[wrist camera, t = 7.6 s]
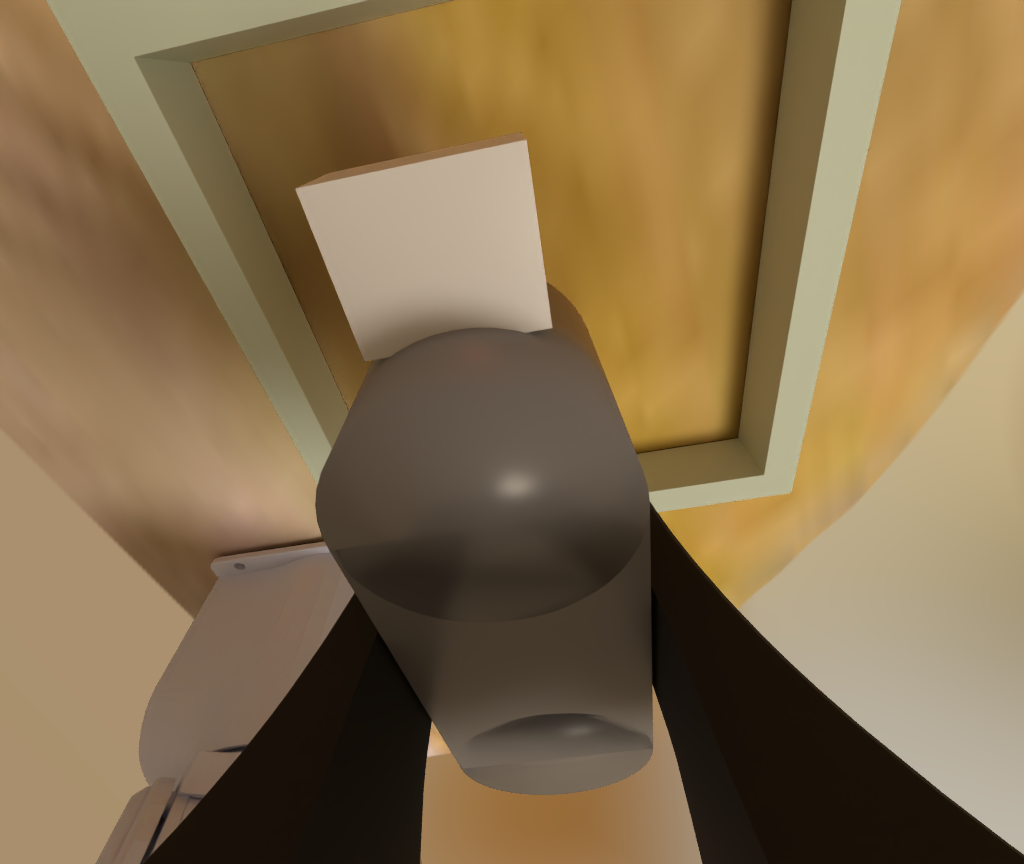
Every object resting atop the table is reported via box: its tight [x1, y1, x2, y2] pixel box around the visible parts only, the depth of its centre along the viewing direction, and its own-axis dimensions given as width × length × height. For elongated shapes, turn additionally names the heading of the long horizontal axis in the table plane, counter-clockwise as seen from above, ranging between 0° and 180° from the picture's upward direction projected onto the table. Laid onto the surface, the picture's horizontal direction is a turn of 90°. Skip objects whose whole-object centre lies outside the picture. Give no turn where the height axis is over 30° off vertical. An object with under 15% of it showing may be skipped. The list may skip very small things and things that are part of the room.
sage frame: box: [46, 0, 901, 512], centre depth 15 cm, size 18×18×2 cm
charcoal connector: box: [295, 132, 653, 795], centre depth 9 cm, size 4×13×4 cm, turn 10°
